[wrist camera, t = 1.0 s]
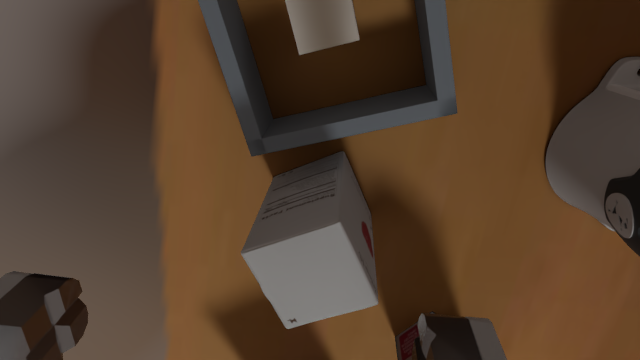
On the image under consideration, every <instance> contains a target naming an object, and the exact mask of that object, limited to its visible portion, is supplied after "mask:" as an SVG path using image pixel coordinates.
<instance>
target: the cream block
mask: <svg viewBox="0 0 640 360" xmlns="http://www.w3.org/2000/svg"><path fill="white" fill-rule="evenodd" d="M285 2H286V6H287V10H288V14H289V18H290V21H291V25H292V29H293V33H294V37H295V41H296V44H297V48H298V52H299V55H302V54H306V53H310V52H314V51H318V50H322V49H326V48H330V47H334V46H338V45H342V44H346V43H350V42H354V41H358V40H360V39H359V32H358V27H357V22H356V17H355V12H354V6H353V1H352V0H285Z"/></svg>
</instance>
